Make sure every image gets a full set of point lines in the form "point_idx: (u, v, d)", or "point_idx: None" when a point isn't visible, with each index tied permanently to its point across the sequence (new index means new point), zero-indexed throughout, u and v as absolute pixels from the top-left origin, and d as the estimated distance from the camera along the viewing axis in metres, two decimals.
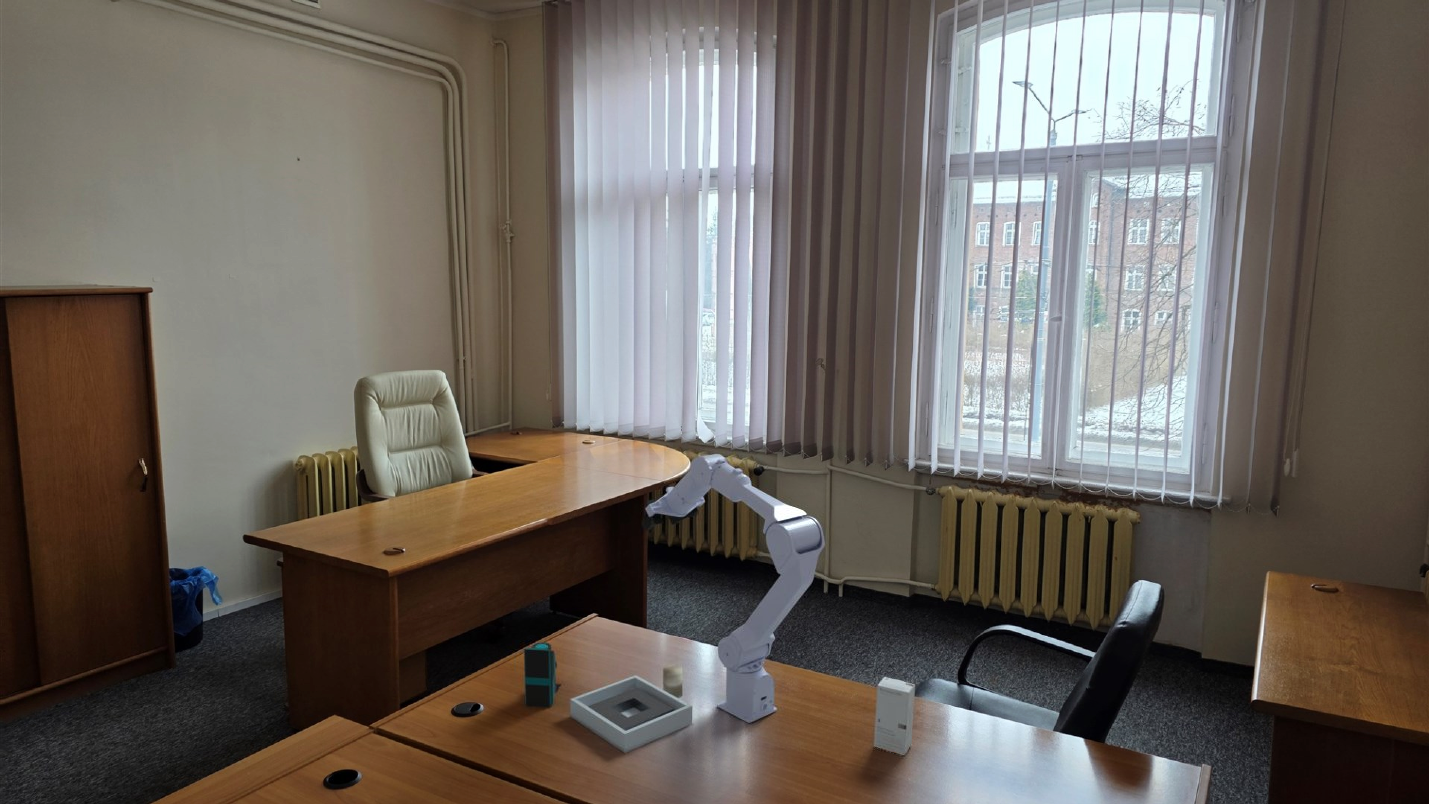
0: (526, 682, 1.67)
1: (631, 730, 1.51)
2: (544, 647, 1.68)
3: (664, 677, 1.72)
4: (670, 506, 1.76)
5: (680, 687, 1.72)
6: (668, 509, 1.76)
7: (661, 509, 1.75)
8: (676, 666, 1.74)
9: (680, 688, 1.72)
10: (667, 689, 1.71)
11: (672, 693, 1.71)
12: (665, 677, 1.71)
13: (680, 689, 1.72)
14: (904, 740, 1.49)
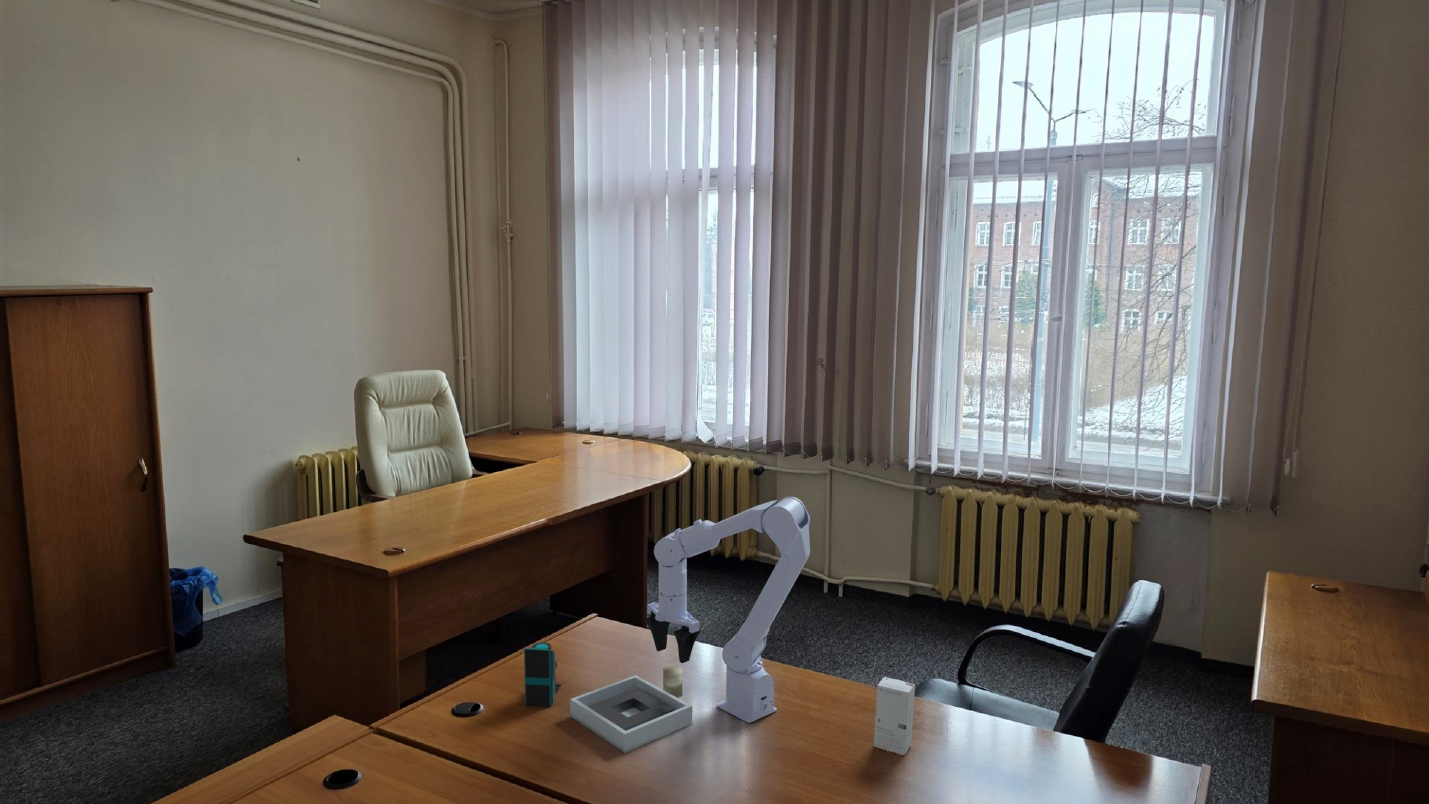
0: (526, 682, 1.67)
1: (631, 730, 1.51)
2: (544, 647, 1.68)
3: (664, 677, 1.72)
4: (684, 612, 1.69)
5: (680, 687, 1.72)
6: (685, 617, 1.70)
7: (690, 619, 1.68)
8: (676, 666, 1.74)
9: (680, 688, 1.72)
10: (667, 689, 1.71)
11: (672, 693, 1.71)
12: (665, 677, 1.71)
13: (680, 689, 1.72)
14: (904, 740, 1.49)
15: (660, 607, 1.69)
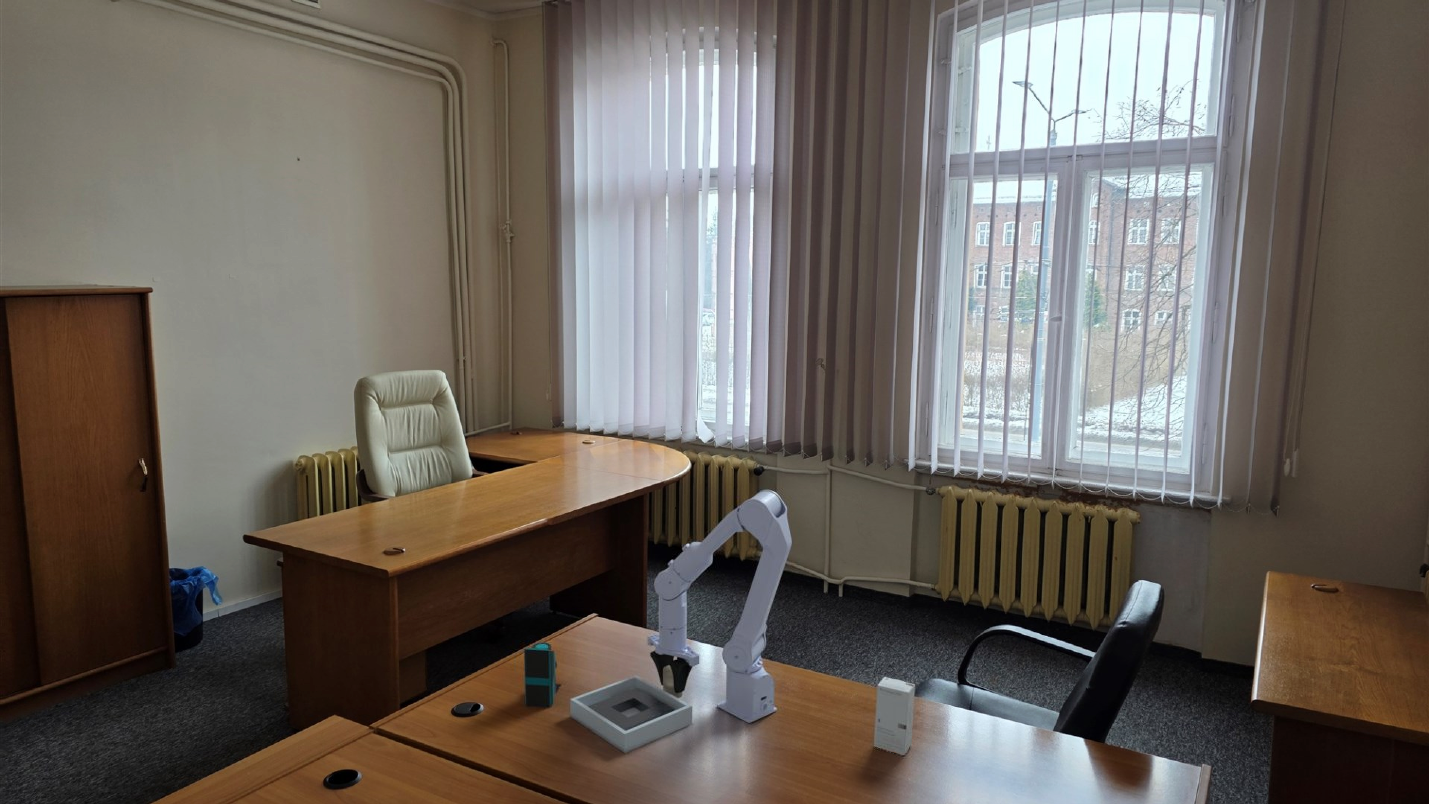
0: (526, 682, 1.67)
1: (631, 730, 1.51)
2: (544, 647, 1.68)
3: (664, 677, 1.72)
4: (683, 645, 1.70)
5: None
6: (685, 649, 1.70)
7: (690, 652, 1.69)
8: None
9: None
10: (667, 689, 1.71)
11: (672, 693, 1.71)
12: (665, 677, 1.71)
13: None
14: (904, 740, 1.49)
15: (660, 640, 1.70)
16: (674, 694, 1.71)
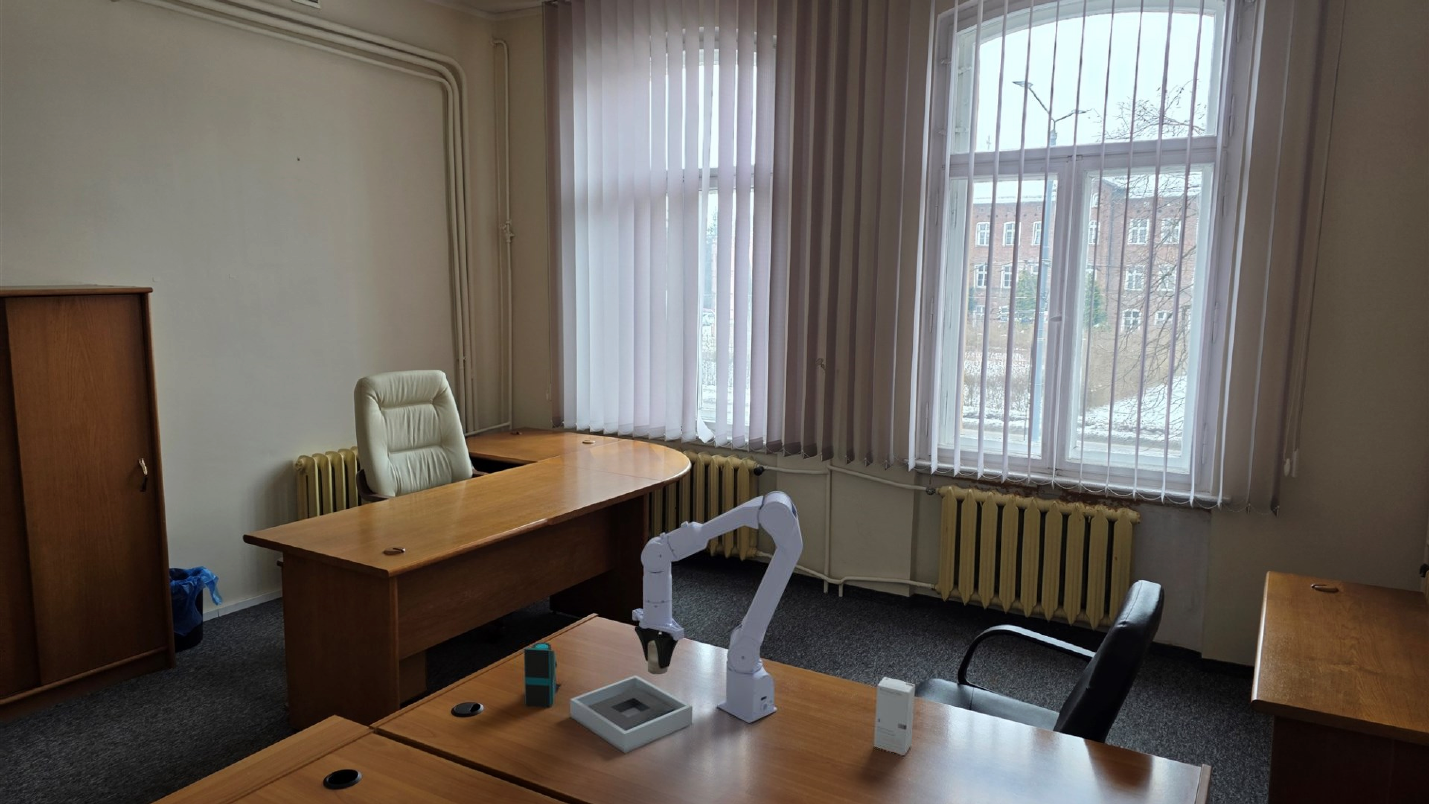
0: (526, 682, 1.67)
1: (631, 730, 1.51)
2: (544, 647, 1.68)
3: (649, 652, 1.67)
4: (668, 619, 1.65)
5: None
6: (670, 624, 1.65)
7: (674, 626, 1.64)
8: None
9: None
10: (652, 664, 1.66)
11: (657, 668, 1.66)
12: (650, 651, 1.66)
13: None
14: (904, 740, 1.49)
15: (644, 614, 1.65)
16: (659, 669, 1.66)
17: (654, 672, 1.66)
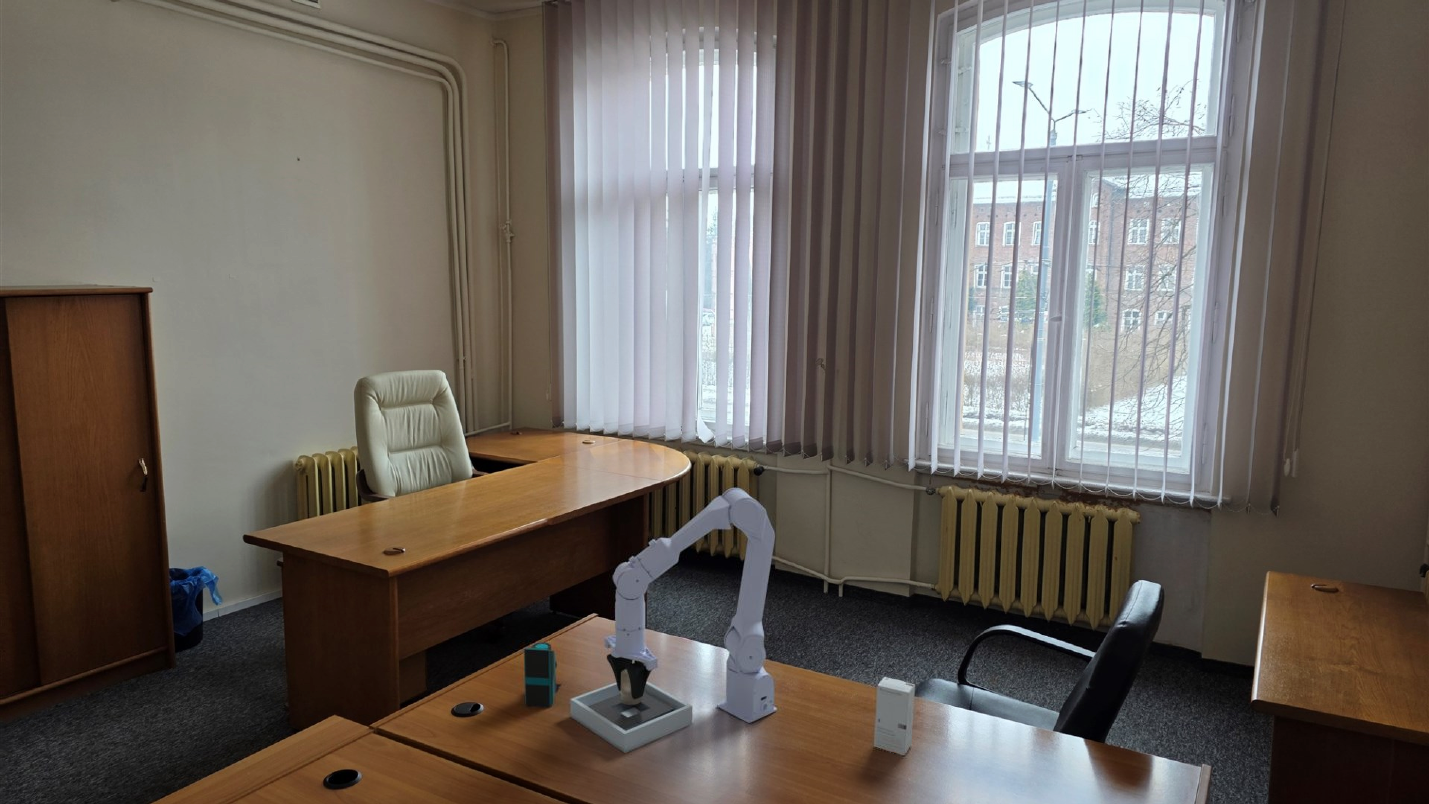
0: (526, 682, 1.67)
1: (631, 730, 1.51)
2: (544, 647, 1.68)
3: (622, 682, 1.60)
4: (641, 647, 1.59)
5: None
6: (643, 652, 1.59)
7: (648, 655, 1.57)
8: None
9: None
10: (626, 694, 1.60)
11: (630, 698, 1.60)
12: (623, 681, 1.60)
13: None
14: (904, 740, 1.49)
15: (616, 642, 1.59)
16: (633, 700, 1.60)
17: (627, 702, 1.60)
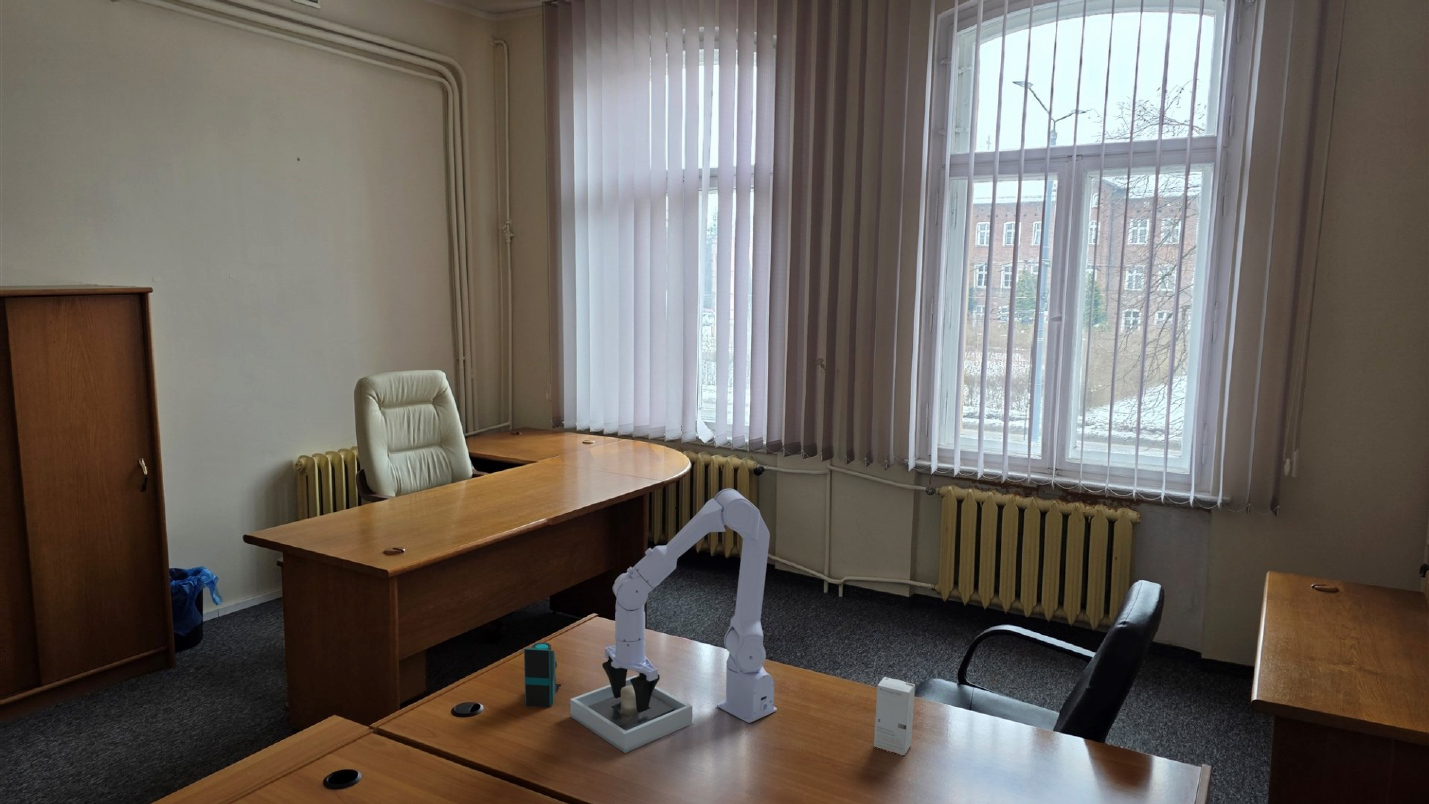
0: (526, 682, 1.67)
1: (631, 730, 1.51)
2: (544, 647, 1.68)
3: (622, 699, 1.61)
4: (642, 658, 1.59)
5: None
6: (643, 663, 1.59)
7: (648, 666, 1.58)
8: None
9: None
10: (626, 711, 1.60)
11: None
12: (623, 698, 1.60)
13: None
14: (904, 740, 1.49)
15: (616, 653, 1.59)
16: None
17: None
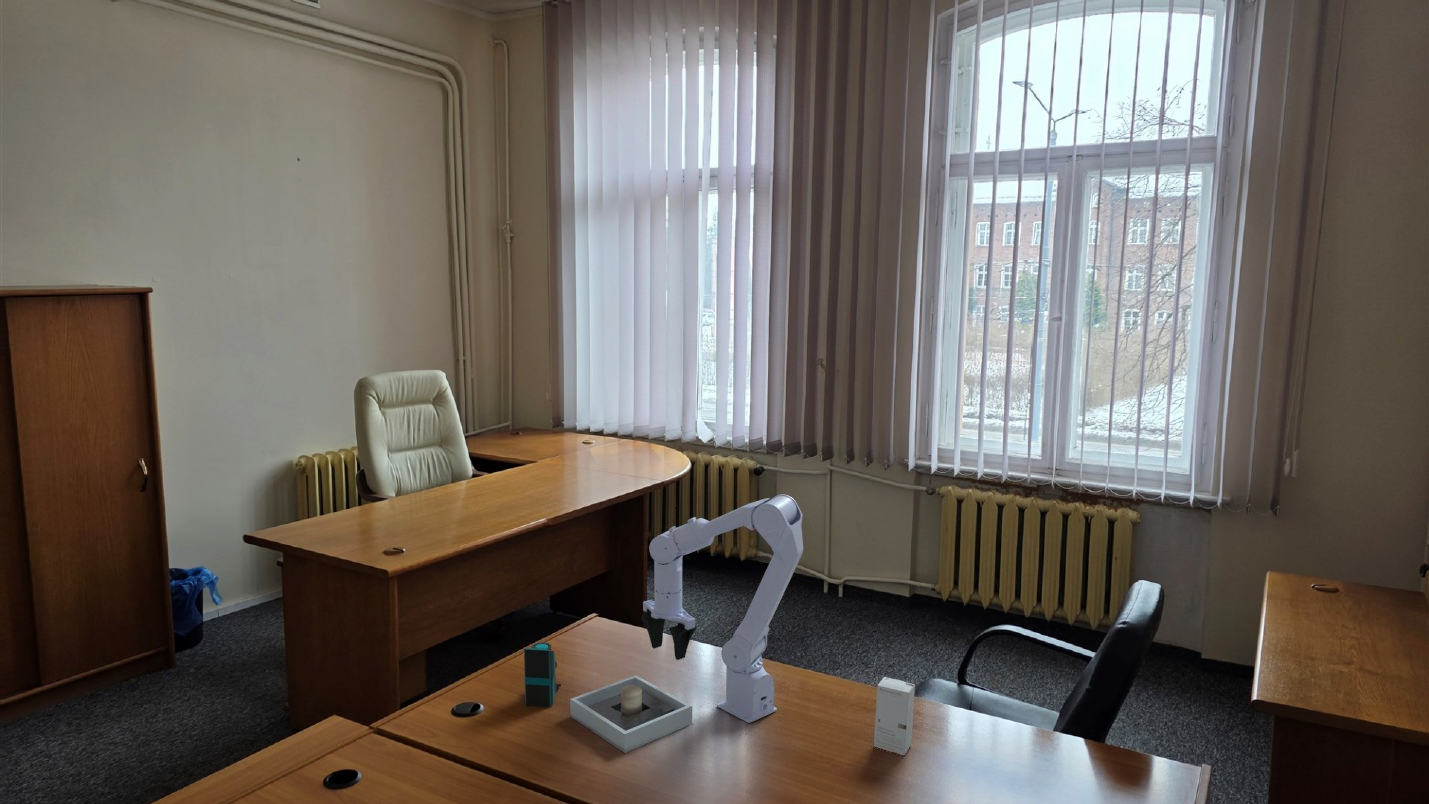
0: (526, 682, 1.67)
1: (631, 730, 1.51)
2: (544, 647, 1.68)
3: (622, 699, 1.61)
4: (679, 609, 1.71)
5: (639, 709, 1.61)
6: (681, 614, 1.71)
7: (685, 616, 1.69)
8: (635, 686, 1.63)
9: (639, 710, 1.61)
10: (626, 711, 1.60)
11: None
12: (623, 698, 1.60)
13: (639, 711, 1.61)
14: (904, 740, 1.49)
15: (656, 604, 1.71)
16: None
17: None
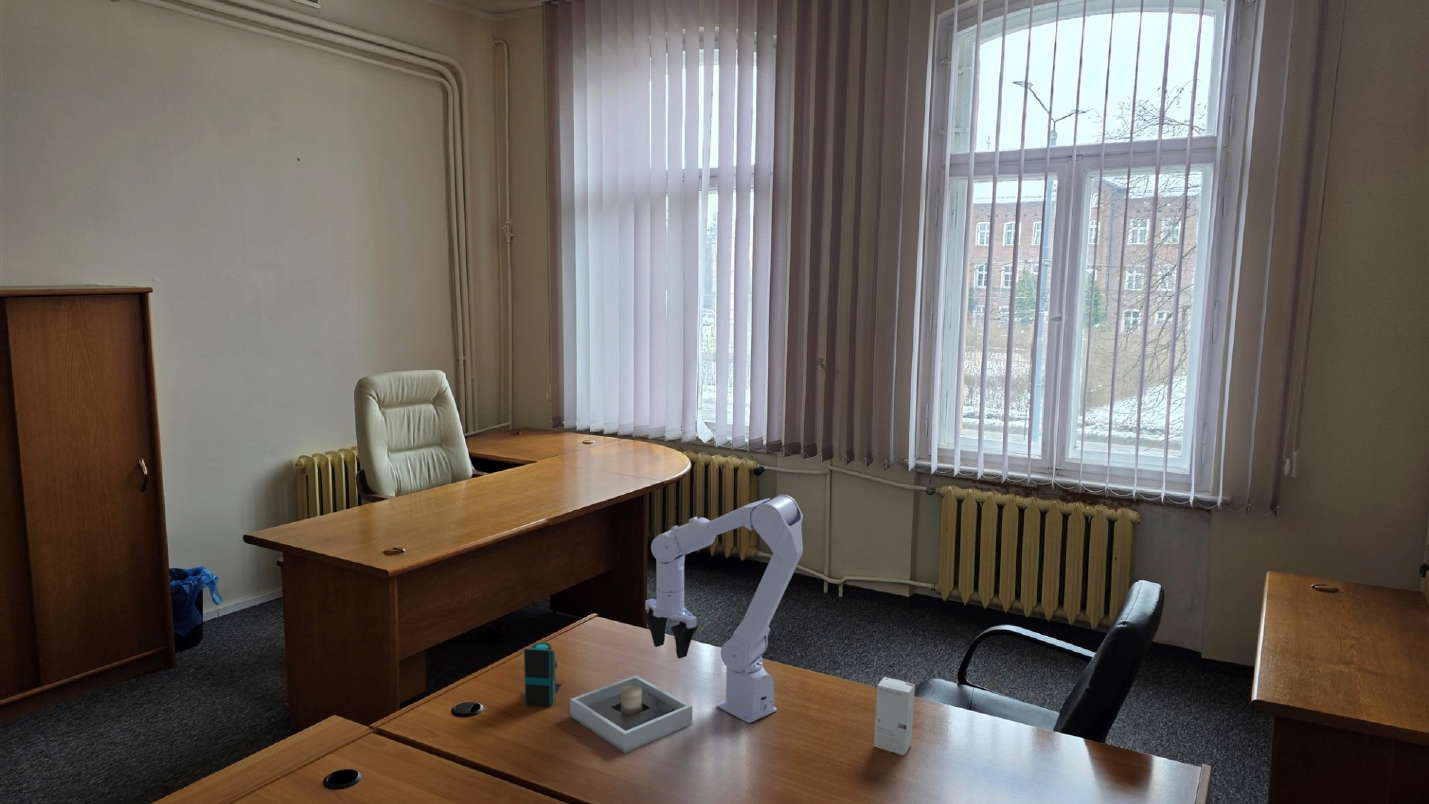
0: (526, 682, 1.67)
1: (631, 730, 1.51)
2: (544, 647, 1.68)
3: (622, 699, 1.61)
4: (681, 608, 1.71)
5: (639, 709, 1.61)
6: (682, 612, 1.72)
7: (687, 615, 1.70)
8: (635, 686, 1.63)
9: (639, 710, 1.61)
10: (626, 711, 1.60)
11: None
12: (623, 698, 1.60)
13: (639, 711, 1.61)
14: (904, 740, 1.49)
15: (658, 603, 1.72)
16: None
17: None
